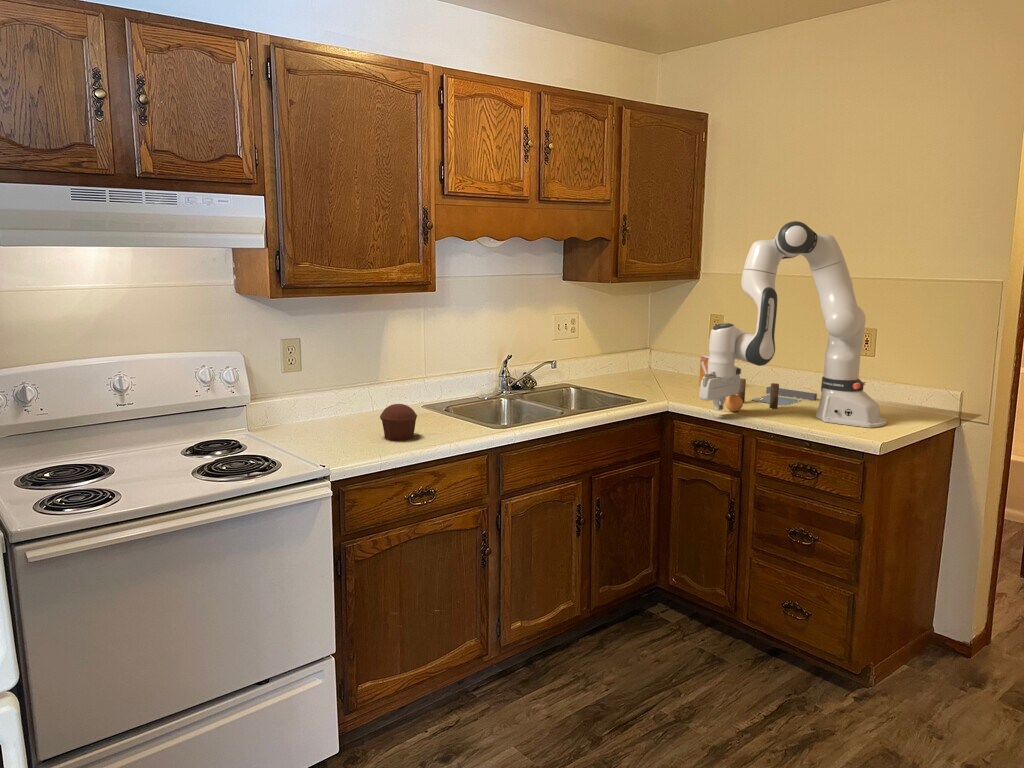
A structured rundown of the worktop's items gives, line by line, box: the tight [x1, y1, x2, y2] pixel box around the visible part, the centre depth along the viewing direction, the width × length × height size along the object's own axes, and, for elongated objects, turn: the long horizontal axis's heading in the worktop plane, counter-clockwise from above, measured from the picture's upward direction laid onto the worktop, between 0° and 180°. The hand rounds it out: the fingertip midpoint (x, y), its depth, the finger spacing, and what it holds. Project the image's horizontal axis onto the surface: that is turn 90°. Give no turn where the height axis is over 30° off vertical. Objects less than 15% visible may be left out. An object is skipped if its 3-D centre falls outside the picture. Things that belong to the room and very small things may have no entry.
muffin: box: [379, 403, 418, 442], centre depth 236 cm, size 12×11×10 cm
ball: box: [724, 394, 744, 413], centre depth 277 cm, size 6×6×6 cm
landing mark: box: [749, 394, 803, 406], centre depth 298 cm, size 14×14×1 cm
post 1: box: [736, 378, 747, 404], centre depth 292 cm, size 3×3×9 cm
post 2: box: [768, 382, 780, 410], centre depth 283 cm, size 3×3×9 cm
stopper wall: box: [765, 386, 818, 401], centre depth 305 cm, size 20×2×2 cm, turn 43°
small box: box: [698, 355, 710, 387], centre depth 323 cm, size 8×6×13 cm
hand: (718, 409), depth 270 cm, fingers closed
